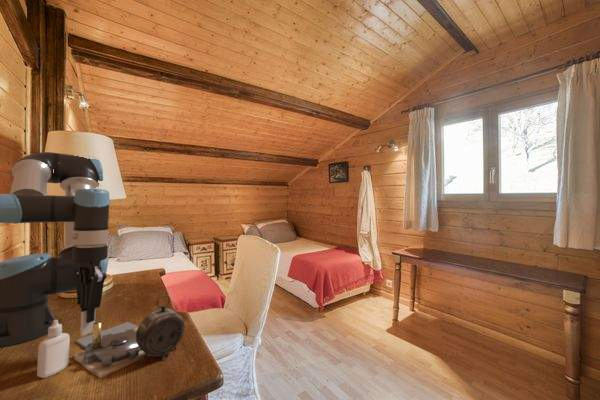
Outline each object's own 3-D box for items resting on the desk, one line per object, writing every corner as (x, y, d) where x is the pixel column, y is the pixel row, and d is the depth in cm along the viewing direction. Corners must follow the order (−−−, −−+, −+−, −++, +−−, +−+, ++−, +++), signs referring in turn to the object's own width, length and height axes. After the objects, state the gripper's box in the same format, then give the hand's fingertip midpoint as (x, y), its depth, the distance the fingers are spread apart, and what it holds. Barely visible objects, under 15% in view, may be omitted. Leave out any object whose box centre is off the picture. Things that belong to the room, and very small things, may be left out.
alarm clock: (177, 345, 75) (179, 288, 75) (186, 352, 71) (188, 292, 72) (134, 361, 67) (136, 297, 67) (141, 371, 63) (144, 303, 63)
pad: (75, 342, 75) (75, 339, 75) (128, 323, 87) (128, 321, 87) (88, 350, 71) (88, 348, 71) (141, 330, 83) (141, 327, 83)
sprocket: (72, 353, 68) (74, 323, 68) (134, 330, 81) (135, 304, 81) (99, 373, 60) (101, 339, 60) (162, 344, 73) (163, 316, 73)
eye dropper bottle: (70, 369, 63) (72, 319, 63) (37, 381, 59) (39, 327, 59) (67, 362, 66) (69, 314, 66) (35, 372, 62) (38, 321, 62)
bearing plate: (72, 357, 68) (72, 354, 68) (133, 333, 81) (134, 330, 81) (99, 378, 60) (99, 374, 60) (162, 348, 73) (162, 345, 73)
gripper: (63, 244, 71) (60, 332, 71) (84, 249, 65) (80, 346, 64) (96, 241, 78) (93, 321, 77) (118, 246, 71) (115, 333, 71)
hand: (87, 332), depth 71 cm, fingers closed
